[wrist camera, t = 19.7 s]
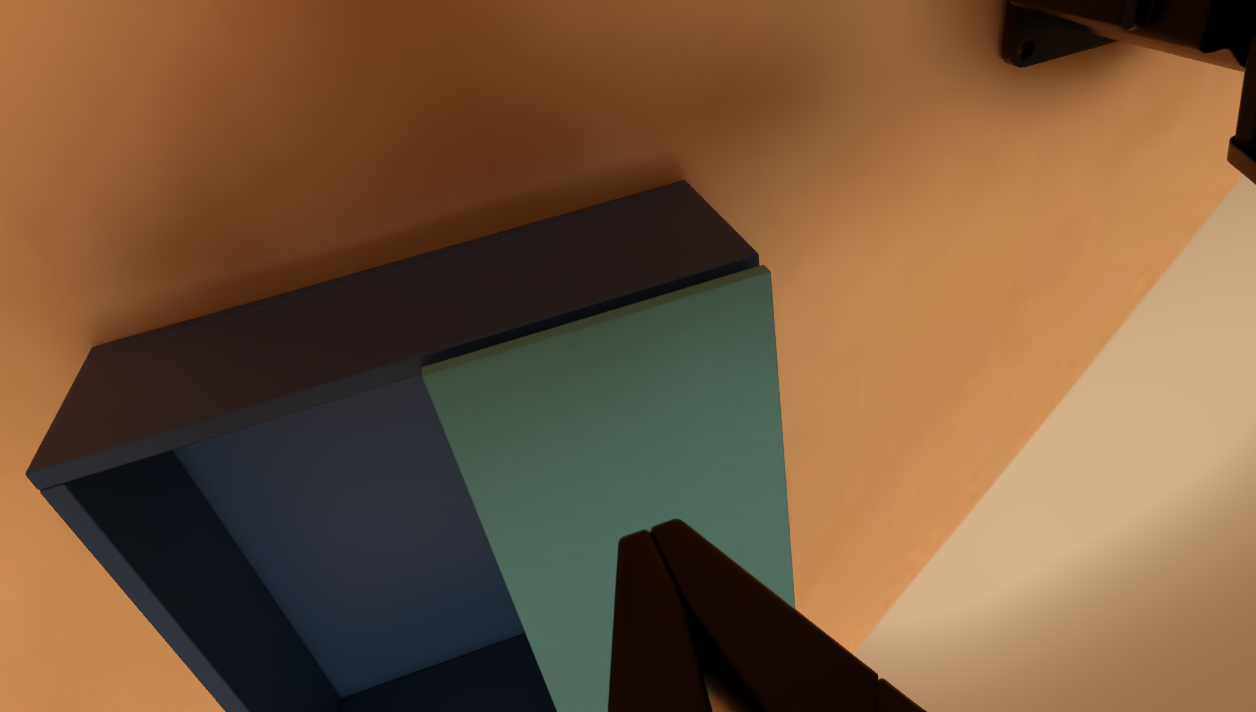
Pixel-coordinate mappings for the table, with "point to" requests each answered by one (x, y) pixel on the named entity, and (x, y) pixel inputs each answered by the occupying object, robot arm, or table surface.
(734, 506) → the lid
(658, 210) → the dark blue open box
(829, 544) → the table surface
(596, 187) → the table surface
